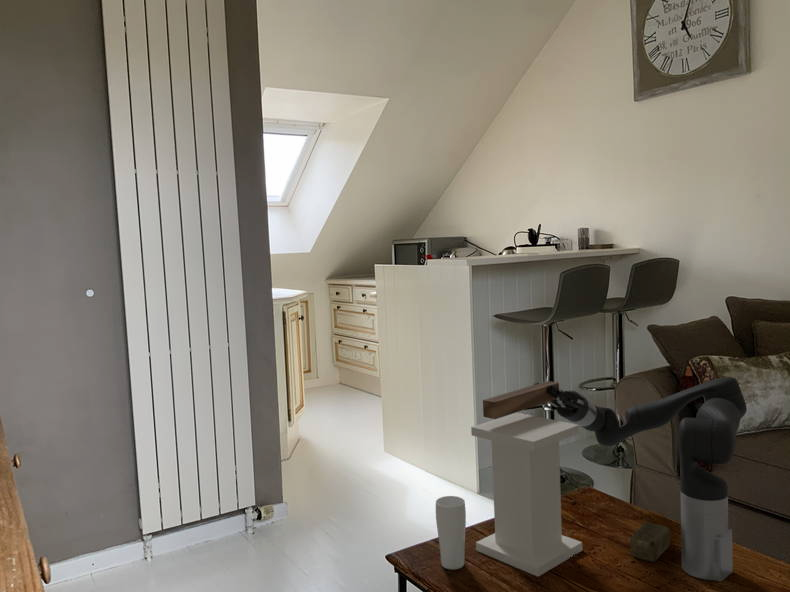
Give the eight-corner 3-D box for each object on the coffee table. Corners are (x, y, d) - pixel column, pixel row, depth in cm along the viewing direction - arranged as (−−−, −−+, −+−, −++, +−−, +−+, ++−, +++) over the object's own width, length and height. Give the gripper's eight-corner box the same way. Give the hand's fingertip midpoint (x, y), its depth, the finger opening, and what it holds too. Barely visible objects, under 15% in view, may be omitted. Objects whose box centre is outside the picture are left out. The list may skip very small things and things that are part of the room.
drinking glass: (472, 561, 151) (469, 498, 150) (460, 575, 145) (457, 509, 144) (446, 555, 154) (443, 493, 153) (432, 568, 148) (430, 504, 147)
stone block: (629, 558, 149) (628, 536, 149) (646, 539, 158) (646, 519, 158) (655, 565, 146) (654, 543, 145) (671, 545, 154) (671, 525, 154)
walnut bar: (559, 398, 167) (558, 382, 167) (494, 419, 151) (494, 402, 151) (548, 396, 170) (547, 380, 169) (483, 416, 153) (482, 399, 153)
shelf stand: (582, 550, 154) (578, 425, 151) (537, 576, 143) (533, 441, 140) (521, 527, 167) (517, 412, 165) (476, 550, 156) (471, 427, 154)
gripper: (596, 426, 169) (560, 405, 159) (550, 417, 180) (514, 397, 169) (603, 399, 171) (569, 376, 160) (558, 391, 181) (522, 370, 171)
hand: (541, 387), depth 165 cm, fingers closed on walnut bar, 3 cm apart
